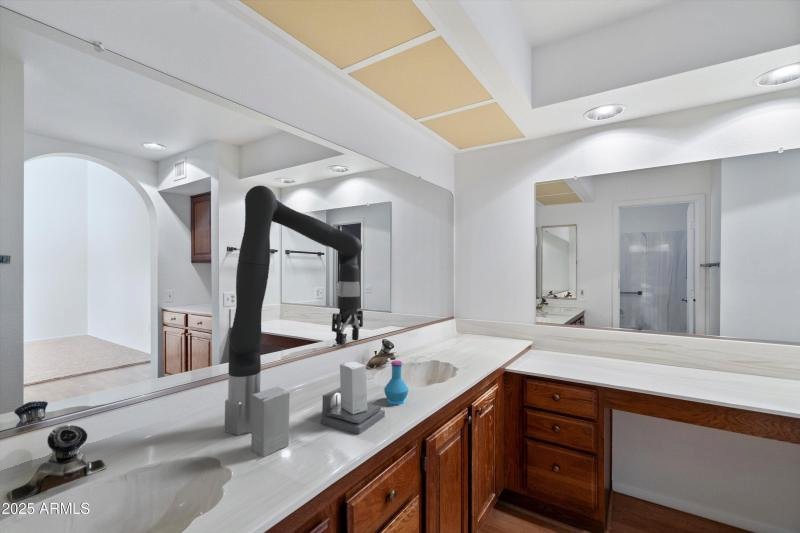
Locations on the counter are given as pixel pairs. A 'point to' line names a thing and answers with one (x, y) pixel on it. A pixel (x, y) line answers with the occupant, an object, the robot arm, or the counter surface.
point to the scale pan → (355, 418)
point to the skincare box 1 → (270, 421)
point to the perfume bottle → (396, 385)
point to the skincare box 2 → (353, 387)
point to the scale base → (334, 400)
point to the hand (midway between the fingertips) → (347, 342)
